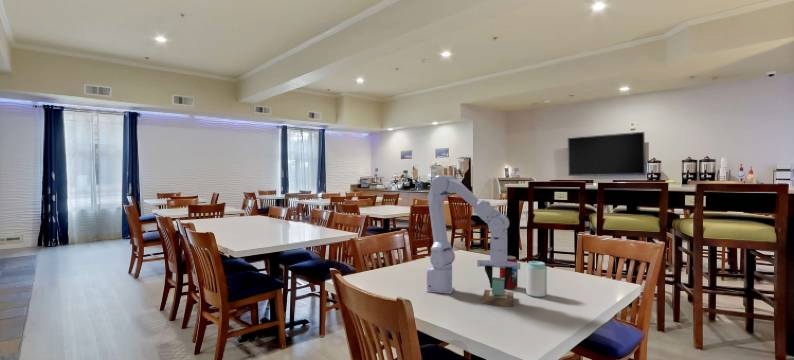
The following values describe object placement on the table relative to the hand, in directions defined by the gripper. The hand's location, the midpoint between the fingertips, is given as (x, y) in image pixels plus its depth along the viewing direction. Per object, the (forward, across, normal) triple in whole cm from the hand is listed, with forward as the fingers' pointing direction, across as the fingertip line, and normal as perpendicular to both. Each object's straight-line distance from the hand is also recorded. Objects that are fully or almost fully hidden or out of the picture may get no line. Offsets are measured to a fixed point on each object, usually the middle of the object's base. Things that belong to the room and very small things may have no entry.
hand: (498, 288), depth 135 cm
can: (+5, +13, +11) cm, 18 cm away
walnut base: (+4, 0, 0) cm, 4 cm away
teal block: (+2, 0, 0) cm, 2 cm away
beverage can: (+5, +3, +18) cm, 19 cm away
